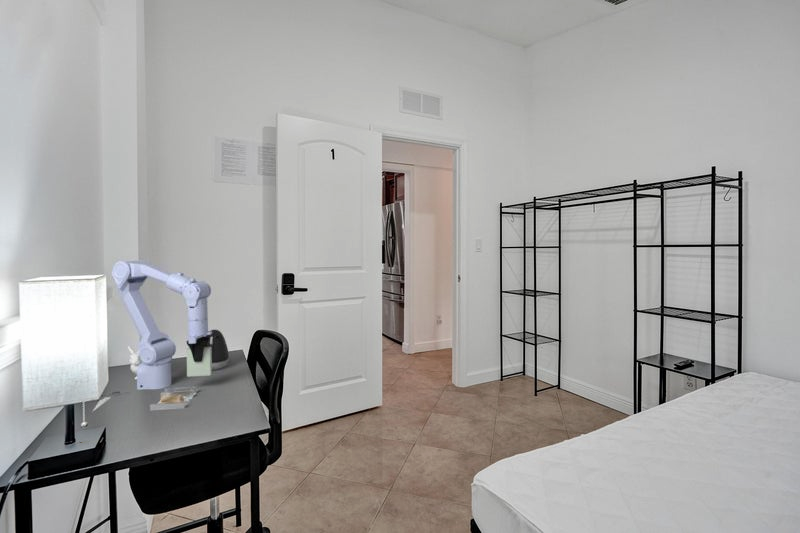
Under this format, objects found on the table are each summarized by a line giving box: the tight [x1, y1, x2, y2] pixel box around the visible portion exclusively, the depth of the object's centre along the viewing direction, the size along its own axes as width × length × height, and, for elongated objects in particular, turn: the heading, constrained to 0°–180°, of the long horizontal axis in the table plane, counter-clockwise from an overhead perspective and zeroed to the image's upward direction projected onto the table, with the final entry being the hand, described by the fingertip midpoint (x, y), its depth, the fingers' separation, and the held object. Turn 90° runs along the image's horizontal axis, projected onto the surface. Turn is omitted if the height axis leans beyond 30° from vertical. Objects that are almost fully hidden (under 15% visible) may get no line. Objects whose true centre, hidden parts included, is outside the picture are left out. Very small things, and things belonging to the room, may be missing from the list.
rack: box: [149, 385, 200, 411], centre depth 126 cm, size 9×16×3 cm, turn 12°
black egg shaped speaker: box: [206, 328, 230, 371], centre depth 159 cm, size 10×10×15 cm
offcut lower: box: [157, 398, 184, 404], centre depth 121 cm, size 6×3×1 cm, turn 102°
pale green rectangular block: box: [186, 347, 213, 377], centre depth 134 cm, size 7×2×9 cm, turn 102°
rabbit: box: [127, 345, 144, 380], centre depth 149 cm, size 12×9×12 cm
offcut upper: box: [160, 395, 182, 403], centre depth 121 cm, size 5×2×1 cm, turn 102°
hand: (199, 360), depth 134 cm, fingers closed on pale green rectangular block, 2 cm apart
